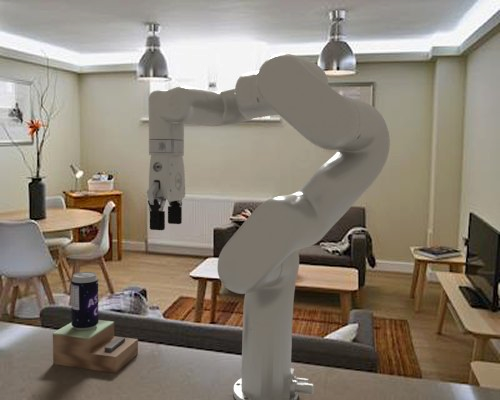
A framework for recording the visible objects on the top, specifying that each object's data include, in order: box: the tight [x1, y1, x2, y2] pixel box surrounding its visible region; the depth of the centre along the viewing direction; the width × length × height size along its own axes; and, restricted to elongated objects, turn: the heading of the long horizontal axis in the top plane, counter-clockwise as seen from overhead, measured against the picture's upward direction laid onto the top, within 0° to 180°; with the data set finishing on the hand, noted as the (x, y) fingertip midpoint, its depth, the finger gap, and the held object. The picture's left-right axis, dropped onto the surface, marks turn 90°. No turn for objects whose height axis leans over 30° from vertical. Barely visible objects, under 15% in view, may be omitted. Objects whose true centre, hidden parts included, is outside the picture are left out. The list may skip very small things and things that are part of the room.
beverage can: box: [70, 271, 99, 331], centre depth 105 cm, size 6×6×12 cm
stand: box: [52, 319, 139, 374], centre depth 105 cm, size 15×10×7 cm, turn 77°
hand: (166, 226), depth 104 cm, fingers open, 9 cm apart
